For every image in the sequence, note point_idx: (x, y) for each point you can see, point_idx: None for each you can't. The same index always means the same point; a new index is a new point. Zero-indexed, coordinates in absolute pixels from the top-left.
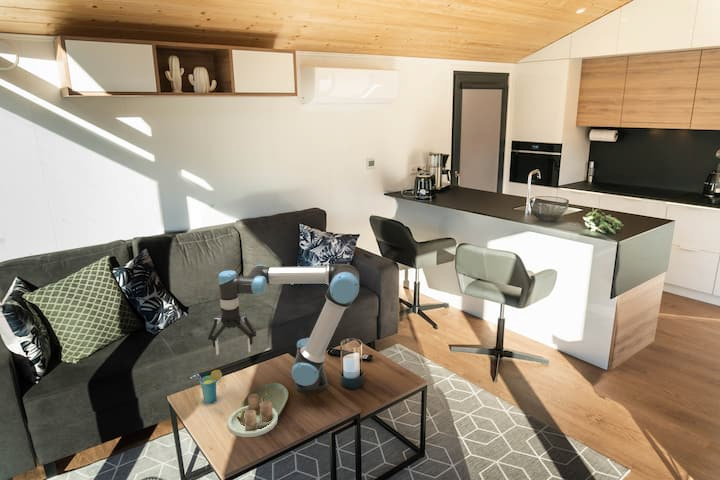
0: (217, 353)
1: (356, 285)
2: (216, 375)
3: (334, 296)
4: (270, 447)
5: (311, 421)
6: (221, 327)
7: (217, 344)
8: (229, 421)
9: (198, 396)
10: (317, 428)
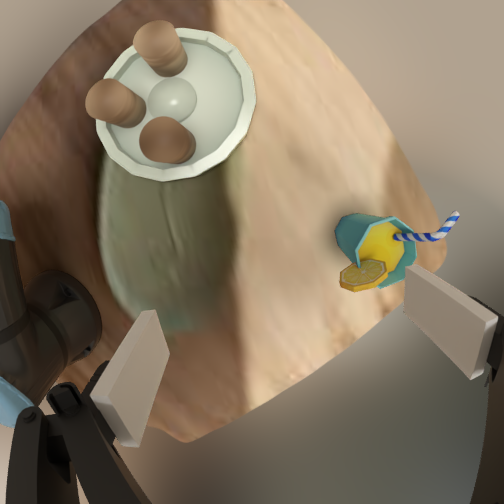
0: (415, 269)
1: None
2: (362, 272)
3: None
4: (113, 20)
5: (28, 138)
6: None
7: (455, 315)
8: (247, 78)
9: None
10: (18, 113)
